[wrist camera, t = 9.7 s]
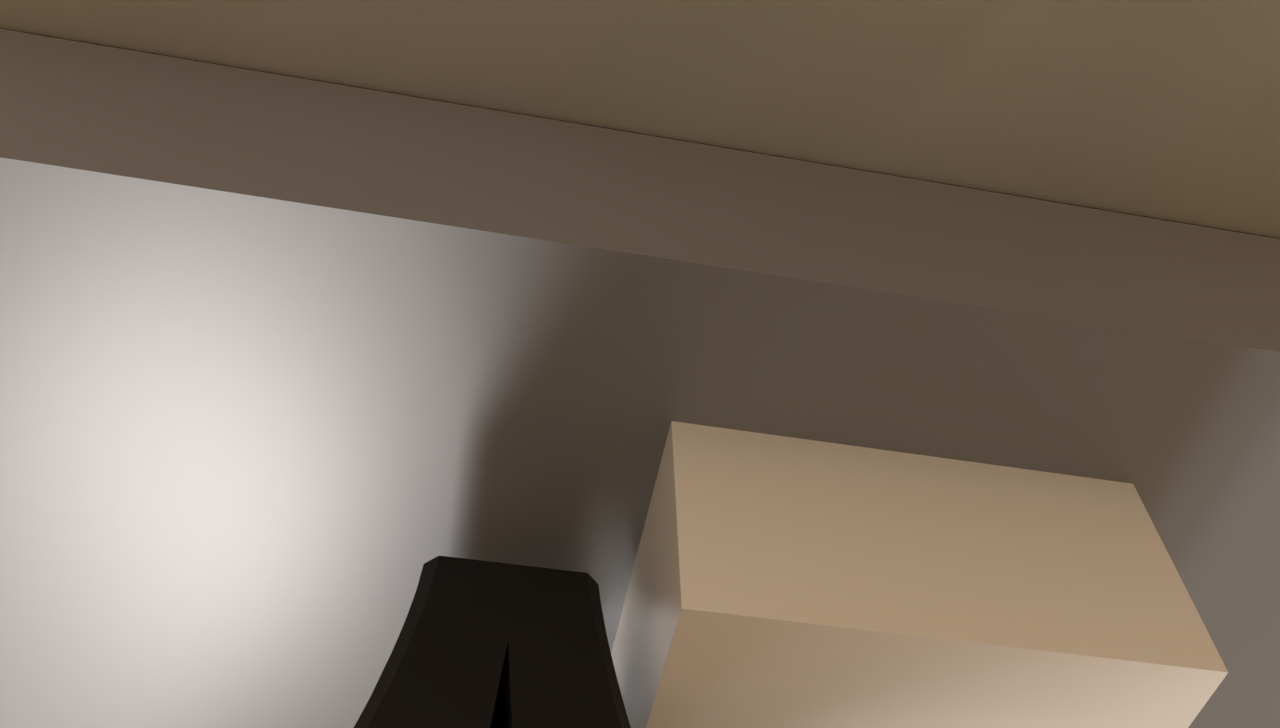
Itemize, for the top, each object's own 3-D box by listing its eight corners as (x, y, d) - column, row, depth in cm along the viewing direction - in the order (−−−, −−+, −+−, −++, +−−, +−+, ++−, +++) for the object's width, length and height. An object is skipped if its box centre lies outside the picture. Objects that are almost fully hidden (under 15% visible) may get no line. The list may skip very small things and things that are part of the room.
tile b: (970, 764, 13) (1022, 954, 11) (592, 726, 12) (588, 918, 11) (1133, 484, 10) (1229, 672, 9) (672, 420, 10) (681, 607, 8)
